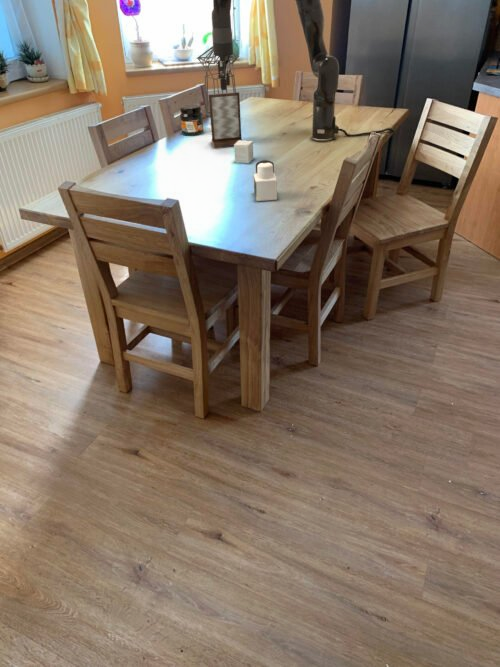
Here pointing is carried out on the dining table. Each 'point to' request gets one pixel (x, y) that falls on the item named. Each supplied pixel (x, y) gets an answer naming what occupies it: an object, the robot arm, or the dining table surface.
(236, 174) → the dining table surface
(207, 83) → the geometric lantern
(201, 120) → the supplement container
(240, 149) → the product box
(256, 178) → the medicine bottle
